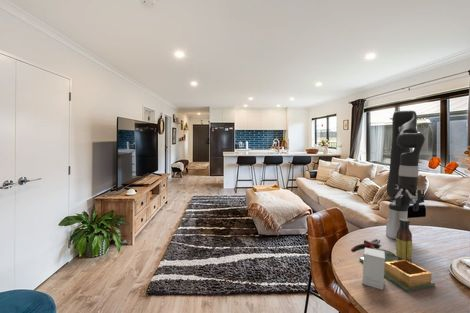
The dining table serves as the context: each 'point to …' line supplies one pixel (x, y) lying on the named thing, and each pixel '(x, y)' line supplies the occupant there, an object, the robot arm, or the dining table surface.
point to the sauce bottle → (404, 241)
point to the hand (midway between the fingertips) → (406, 208)
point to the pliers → (367, 245)
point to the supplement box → (373, 268)
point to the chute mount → (405, 273)
